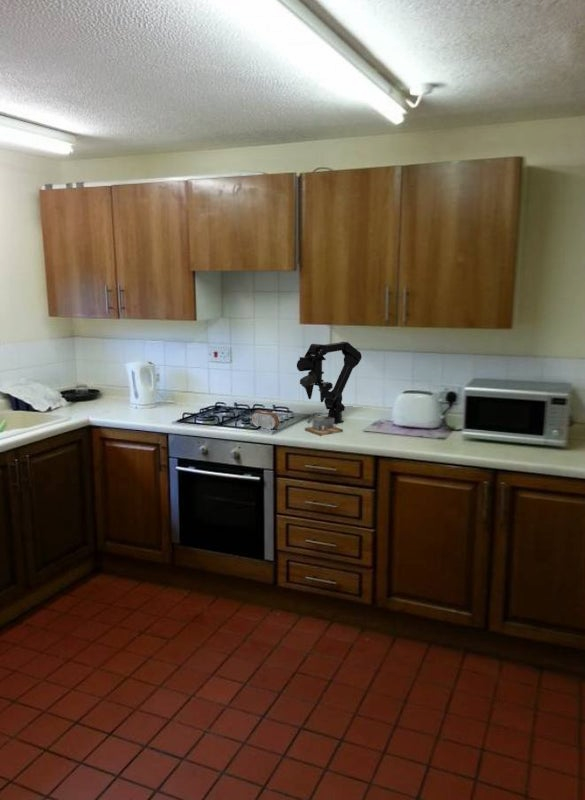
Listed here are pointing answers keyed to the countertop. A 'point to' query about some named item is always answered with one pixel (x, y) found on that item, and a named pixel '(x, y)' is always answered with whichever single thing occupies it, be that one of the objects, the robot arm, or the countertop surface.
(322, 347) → the robot arm
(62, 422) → the countertop surface
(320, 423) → the drive
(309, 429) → the pin tray
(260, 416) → the tin
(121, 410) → the countertop surface
